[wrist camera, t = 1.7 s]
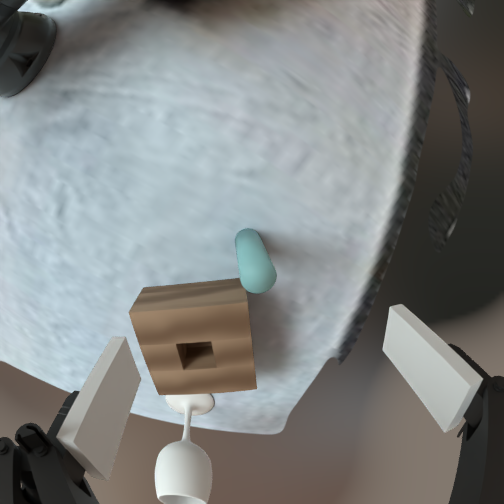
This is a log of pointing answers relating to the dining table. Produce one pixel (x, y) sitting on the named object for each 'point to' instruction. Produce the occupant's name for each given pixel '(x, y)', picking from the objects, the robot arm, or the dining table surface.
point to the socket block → (196, 337)
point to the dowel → (254, 262)
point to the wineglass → (185, 458)
